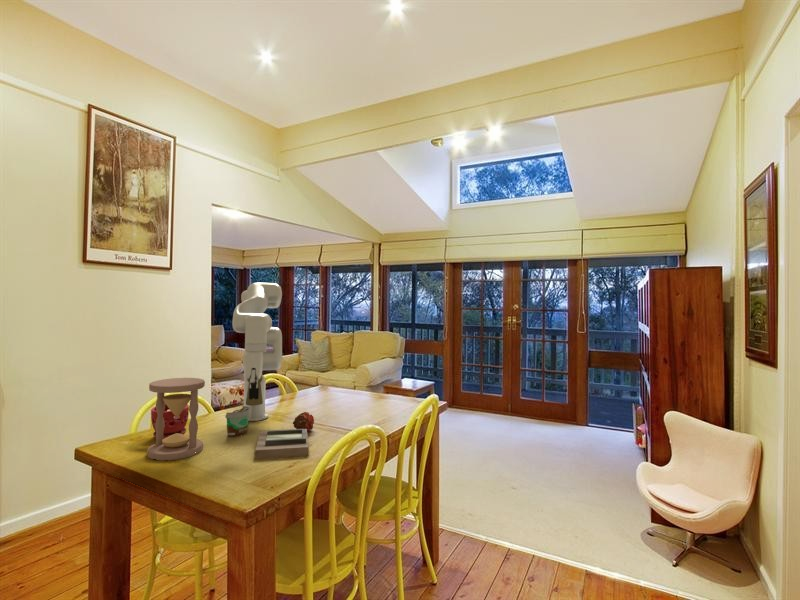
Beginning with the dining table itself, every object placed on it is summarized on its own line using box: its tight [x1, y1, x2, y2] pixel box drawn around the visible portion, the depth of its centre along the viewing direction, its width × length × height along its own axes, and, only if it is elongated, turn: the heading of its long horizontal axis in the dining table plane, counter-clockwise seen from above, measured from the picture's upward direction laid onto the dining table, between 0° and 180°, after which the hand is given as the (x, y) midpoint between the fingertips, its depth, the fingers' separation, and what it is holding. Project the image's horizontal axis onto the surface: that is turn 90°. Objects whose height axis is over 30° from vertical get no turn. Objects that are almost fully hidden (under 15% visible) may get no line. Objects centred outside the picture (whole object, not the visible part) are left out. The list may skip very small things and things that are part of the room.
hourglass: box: [146, 377, 206, 461], centre depth 148 cm, size 18×18×25 cm
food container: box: [225, 405, 251, 438], centre depth 169 cm, size 12×6×10 cm, turn 168°
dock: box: [254, 428, 310, 460], centre depth 155 cm, size 22×18×4 cm
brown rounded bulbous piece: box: [246, 374, 263, 406], centre depth 152 cm, size 6×6×11 cm
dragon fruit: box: [292, 411, 315, 431], centre depth 176 cm, size 8×8×12 cm
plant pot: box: [150, 403, 190, 439], centre depth 165 cm, size 13×13×12 cm
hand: (254, 397), depth 152 cm, fingers closed on brown rounded bulbous piece, 4 cm apart
